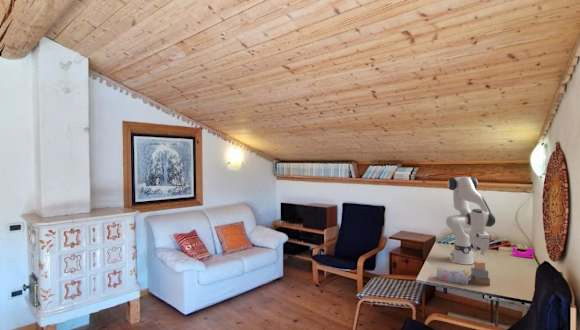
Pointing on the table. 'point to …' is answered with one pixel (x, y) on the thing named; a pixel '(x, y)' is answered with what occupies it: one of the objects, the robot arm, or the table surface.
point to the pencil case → (453, 275)
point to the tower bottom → (480, 280)
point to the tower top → (479, 273)
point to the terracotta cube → (479, 265)
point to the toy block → (523, 253)
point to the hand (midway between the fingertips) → (478, 252)
